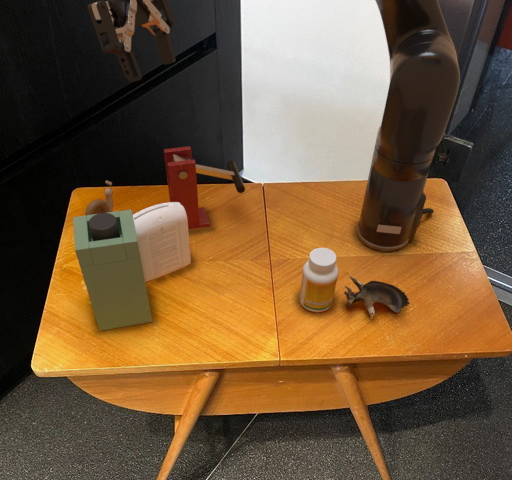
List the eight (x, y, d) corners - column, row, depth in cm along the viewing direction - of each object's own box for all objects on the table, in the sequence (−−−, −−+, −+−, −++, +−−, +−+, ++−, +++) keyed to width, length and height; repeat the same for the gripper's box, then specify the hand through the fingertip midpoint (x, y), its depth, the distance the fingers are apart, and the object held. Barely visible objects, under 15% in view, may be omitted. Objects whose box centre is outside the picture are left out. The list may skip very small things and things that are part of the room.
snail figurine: (133, 244, 95) (122, 186, 86) (108, 265, 92) (94, 206, 83) (110, 233, 97) (96, 174, 88) (84, 253, 94) (67, 194, 84)
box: (146, 290, 88) (131, 209, 76) (152, 322, 84) (137, 241, 72) (96, 298, 87) (72, 217, 75) (99, 331, 83) (74, 250, 70)
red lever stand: (204, 210, 102) (200, 143, 91) (210, 231, 98) (207, 162, 88) (161, 216, 101) (152, 148, 90) (166, 237, 97) (157, 168, 86)
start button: (119, 229, 76) (115, 211, 74) (121, 246, 74) (117, 227, 71) (92, 233, 75) (87, 214, 73) (94, 250, 73) (89, 231, 71)
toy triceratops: (351, 328, 82) (411, 319, 82) (346, 282, 80) (407, 272, 80) (345, 315, 90) (400, 306, 89) (340, 273, 88) (396, 263, 87)
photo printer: (183, 251, 95) (176, 190, 85) (195, 265, 92) (190, 205, 83) (128, 273, 91) (115, 212, 81) (140, 288, 88) (127, 227, 79)
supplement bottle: (293, 295, 88) (298, 249, 81) (321, 285, 90) (329, 240, 83) (309, 317, 85) (316, 272, 78) (338, 307, 87) (348, 262, 79)
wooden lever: (232, 170, 98) (236, 158, 96) (242, 196, 93) (247, 184, 91) (166, 157, 93) (170, 144, 91) (174, 184, 88) (177, 171, 86)
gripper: (90, -58, 66) (143, 83, 75) (159, -75, 75) (199, 53, 84) (51, -41, 70) (105, 91, 79) (121, -59, 79) (162, 61, 88)
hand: (153, 71), depth 81 cm, fingers open, 8 cm apart
